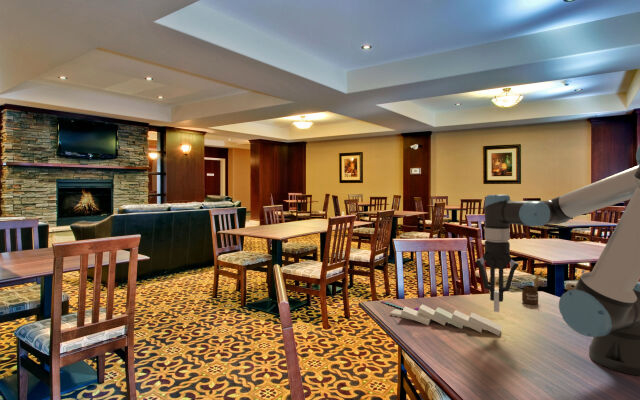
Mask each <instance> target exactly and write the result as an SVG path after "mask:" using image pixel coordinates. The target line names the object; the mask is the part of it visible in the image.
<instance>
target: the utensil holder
mask: <svg viewBox="0 0 640 400" xmlns="http://www.w3.org/2000/svg"><path fill="white" fill-rule="evenodd" d="M539 277H540V275H538V274H536V275H535V278H534V285H531V284H525V283H526V281H527V282H530V281H529V279H528V278H527V276H525V277H523V279H525V280H523V282H522V283H523V286H522V288H523V289H522V291H521V293H522V294H521V301H522V303H523V304H524V305H525V304H526V305H530V306H531V305H532V306H533V305H534V306H535V305H536V306H537V305H539V292H538V287H537V283H538V281H539Z"/></svg>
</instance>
